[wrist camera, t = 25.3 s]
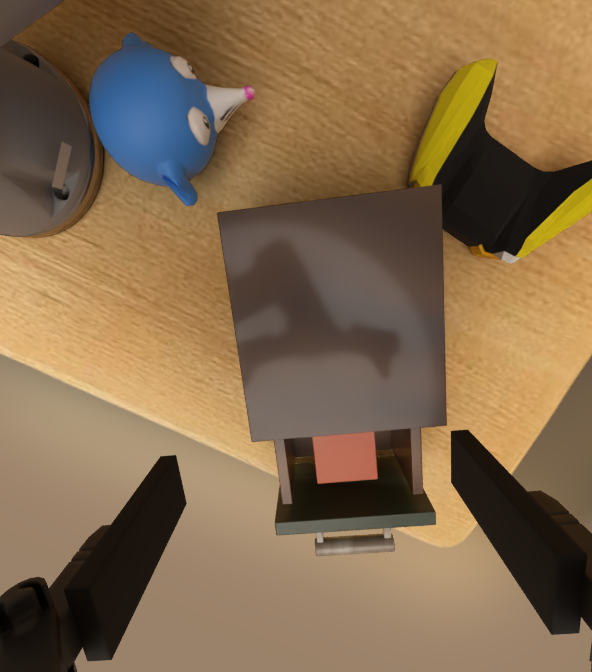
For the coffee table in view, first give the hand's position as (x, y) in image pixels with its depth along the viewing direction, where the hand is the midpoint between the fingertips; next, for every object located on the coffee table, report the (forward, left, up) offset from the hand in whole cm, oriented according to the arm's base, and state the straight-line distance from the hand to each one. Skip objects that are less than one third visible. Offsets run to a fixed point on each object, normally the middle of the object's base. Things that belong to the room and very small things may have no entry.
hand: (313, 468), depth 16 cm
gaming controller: (+16, +14, -17) cm, 28 cm away
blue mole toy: (-8, +21, -17) cm, 29 cm away
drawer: (+2, -7, -16) cm, 18 cm away
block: (+2, -6, -15) cm, 16 cm away
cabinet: (+2, +5, -17) cm, 18 cm away
